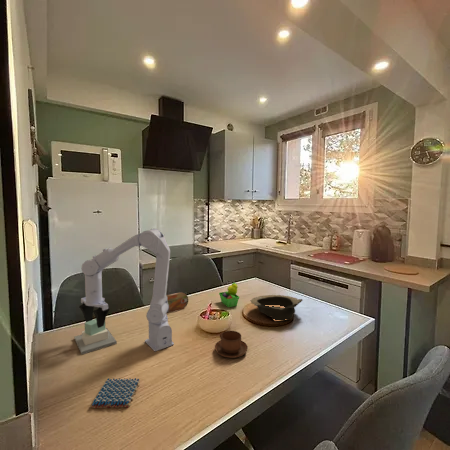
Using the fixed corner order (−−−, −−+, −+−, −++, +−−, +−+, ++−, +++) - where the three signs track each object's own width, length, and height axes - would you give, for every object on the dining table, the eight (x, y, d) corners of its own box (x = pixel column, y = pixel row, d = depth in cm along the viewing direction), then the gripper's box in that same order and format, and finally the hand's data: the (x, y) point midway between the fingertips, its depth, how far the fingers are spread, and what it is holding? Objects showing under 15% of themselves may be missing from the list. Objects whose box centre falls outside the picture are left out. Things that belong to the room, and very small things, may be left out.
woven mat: (141, 382, 78) (141, 376, 78) (129, 410, 68) (129, 403, 68) (106, 383, 78) (106, 376, 78) (89, 411, 68) (89, 403, 67)
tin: (161, 314, 127) (161, 297, 127) (158, 312, 130) (158, 295, 129) (188, 307, 136) (188, 292, 135) (186, 305, 138) (186, 290, 138)
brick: (105, 329, 103) (105, 319, 102) (90, 335, 98) (90, 325, 97) (99, 326, 105) (99, 317, 104) (84, 333, 100) (84, 322, 99)
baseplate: (116, 343, 100) (116, 333, 99) (81, 354, 92) (81, 343, 92) (106, 330, 111) (106, 320, 110) (74, 338, 103) (74, 329, 103)
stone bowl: (293, 330, 112) (292, 308, 111) (242, 320, 125) (240, 301, 124) (307, 310, 133) (306, 292, 132) (262, 303, 146) (261, 287, 145)
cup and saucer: (208, 355, 93) (208, 338, 92) (224, 340, 103) (224, 325, 103) (239, 365, 87) (239, 347, 87) (252, 348, 98) (252, 332, 97)
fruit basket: (218, 301, 145) (218, 281, 144) (232, 299, 149) (232, 279, 148) (227, 308, 135) (227, 287, 134) (241, 306, 139) (242, 285, 138)
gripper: (114, 290, 100) (115, 324, 101) (92, 284, 107) (93, 316, 108) (97, 295, 94) (98, 332, 95) (75, 288, 101) (76, 322, 102)
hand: (94, 324), depth 101 cm, fingers open, 7 cm apart
